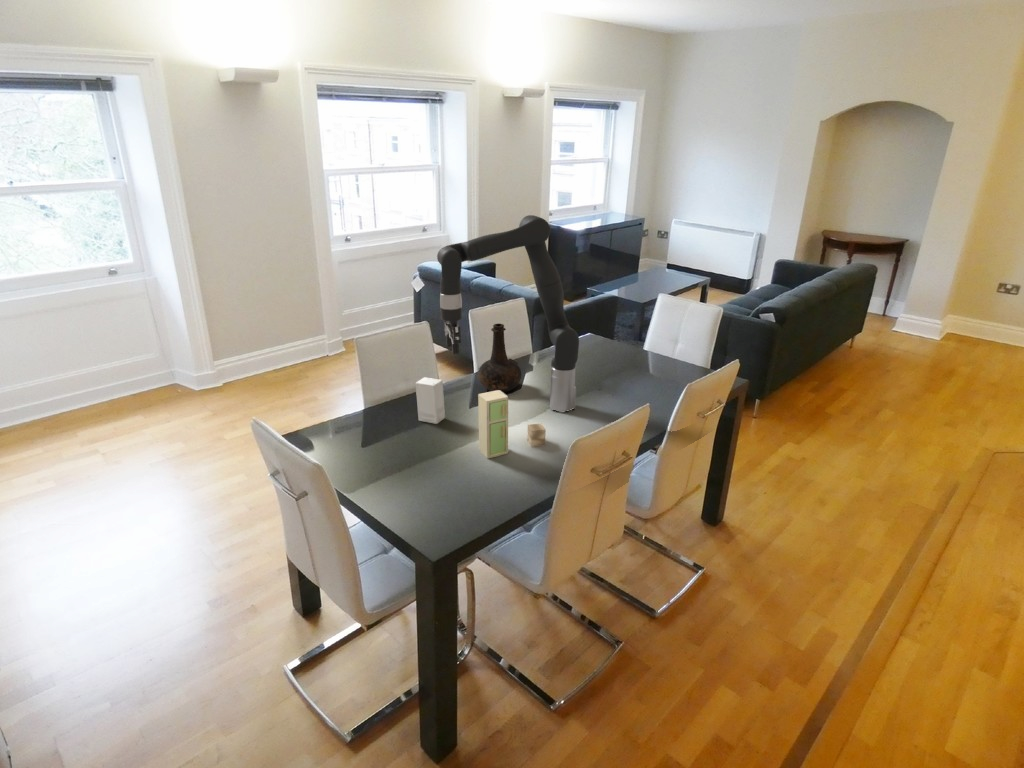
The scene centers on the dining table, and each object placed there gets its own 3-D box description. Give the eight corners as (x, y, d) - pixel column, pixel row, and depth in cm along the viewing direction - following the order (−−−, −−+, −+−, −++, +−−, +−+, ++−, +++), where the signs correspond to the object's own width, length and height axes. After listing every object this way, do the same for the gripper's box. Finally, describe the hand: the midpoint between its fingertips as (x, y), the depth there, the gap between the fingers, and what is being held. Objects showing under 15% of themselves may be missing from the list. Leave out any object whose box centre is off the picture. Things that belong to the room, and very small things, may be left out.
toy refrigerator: (487, 460, 204) (487, 401, 196) (478, 450, 210) (477, 393, 202) (509, 455, 208) (509, 397, 200) (499, 445, 214) (499, 389, 206)
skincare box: (445, 418, 234) (444, 379, 228) (436, 425, 228) (434, 385, 223) (426, 414, 237) (424, 376, 231) (416, 420, 232) (414, 382, 226)
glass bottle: (529, 391, 260) (530, 326, 249) (493, 400, 250) (493, 333, 240) (505, 377, 273) (505, 316, 263) (470, 386, 264) (469, 322, 253)
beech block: (540, 438, 219) (541, 423, 217) (545, 445, 215) (545, 429, 212) (527, 440, 218) (527, 424, 216) (531, 446, 213) (531, 431, 211)
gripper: (467, 309, 210) (468, 355, 216) (456, 299, 223) (457, 343, 229) (445, 311, 208) (447, 357, 214) (435, 301, 221) (437, 345, 227)
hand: (452, 349), depth 222 cm, fingers open, 8 cm apart
